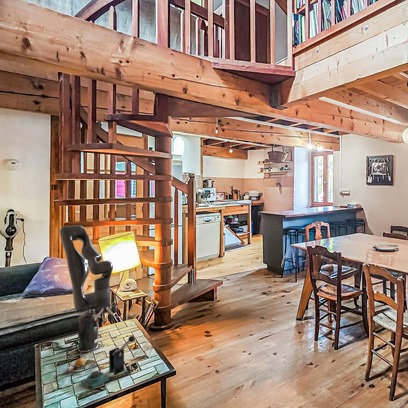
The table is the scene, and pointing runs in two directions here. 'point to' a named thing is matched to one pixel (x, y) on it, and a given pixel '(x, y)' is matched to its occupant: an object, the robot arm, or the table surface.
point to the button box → (95, 380)
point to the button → (95, 374)
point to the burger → (80, 365)
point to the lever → (131, 339)
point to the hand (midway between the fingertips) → (102, 324)
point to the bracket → (116, 361)
